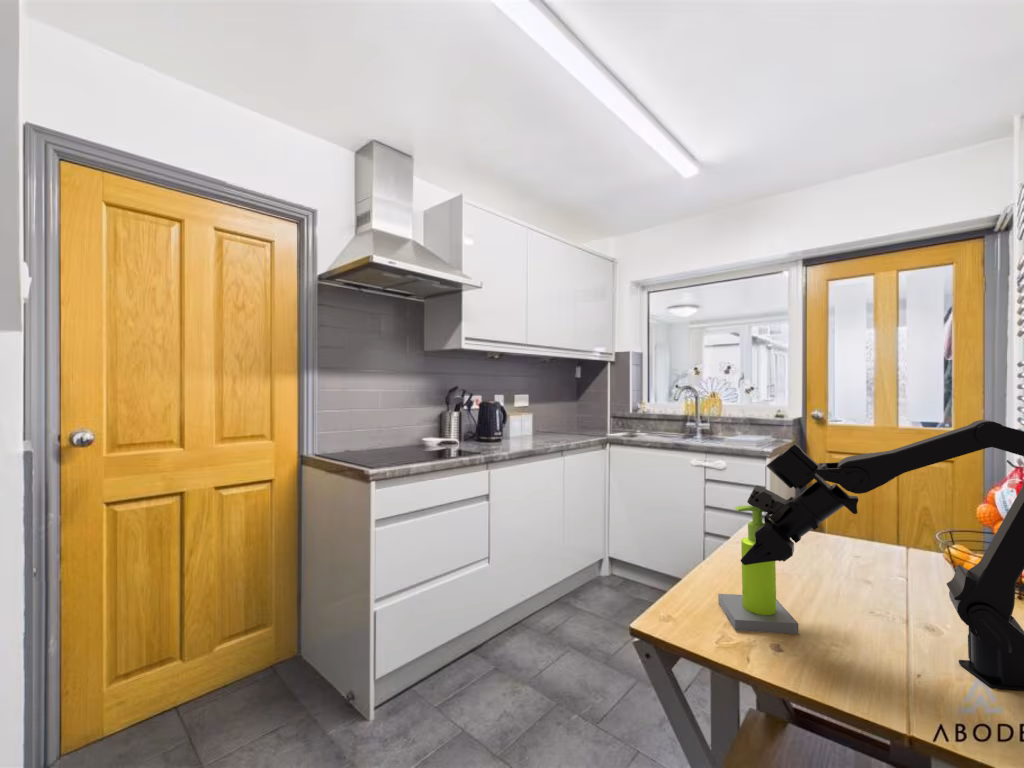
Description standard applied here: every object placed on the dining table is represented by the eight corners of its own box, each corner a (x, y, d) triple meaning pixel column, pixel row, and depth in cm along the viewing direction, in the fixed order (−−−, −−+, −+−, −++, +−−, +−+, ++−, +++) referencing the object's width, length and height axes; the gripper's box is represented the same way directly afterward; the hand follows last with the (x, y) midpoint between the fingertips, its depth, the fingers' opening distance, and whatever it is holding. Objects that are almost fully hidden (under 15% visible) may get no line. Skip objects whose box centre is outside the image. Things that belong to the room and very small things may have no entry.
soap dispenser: (733, 599, 94) (731, 502, 94) (770, 602, 93) (767, 503, 93) (742, 613, 88) (739, 510, 89) (781, 616, 87) (778, 511, 87)
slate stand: (798, 634, 84) (798, 623, 84) (735, 630, 86) (734, 619, 86) (774, 605, 95) (774, 596, 95) (718, 603, 97) (718, 593, 97)
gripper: (780, 466, 96) (724, 512, 103) (768, 482, 81) (704, 534, 88) (826, 509, 92) (765, 554, 98) (823, 535, 76) (751, 585, 83)
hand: (746, 555), depth 92 cm, fingers open, 9 cm apart
